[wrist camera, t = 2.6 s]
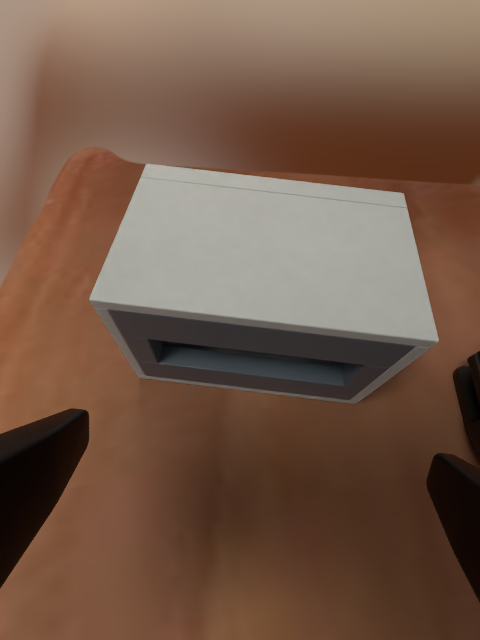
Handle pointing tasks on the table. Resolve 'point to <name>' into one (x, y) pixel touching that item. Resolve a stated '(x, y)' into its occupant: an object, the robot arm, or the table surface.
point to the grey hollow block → (265, 285)
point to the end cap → (470, 396)
